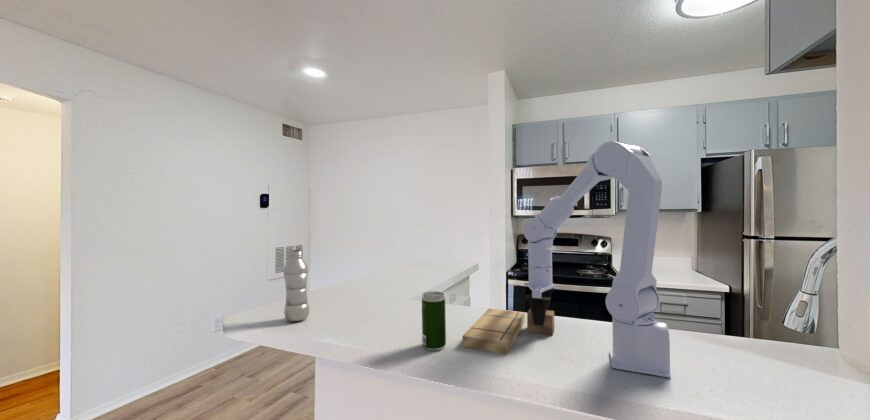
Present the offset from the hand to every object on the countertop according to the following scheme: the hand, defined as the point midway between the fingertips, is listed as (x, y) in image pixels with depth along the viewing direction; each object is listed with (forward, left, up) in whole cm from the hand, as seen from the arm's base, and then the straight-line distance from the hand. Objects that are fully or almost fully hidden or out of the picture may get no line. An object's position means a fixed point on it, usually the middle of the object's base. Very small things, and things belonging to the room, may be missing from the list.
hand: (540, 319), depth 84 cm
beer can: (+21, +19, -3) cm, 28 cm away
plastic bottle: (+65, +18, -3) cm, 68 cm away
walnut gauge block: (0, 0, -3) cm, 3 cm away
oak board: (+10, +6, -3) cm, 12 cm away
